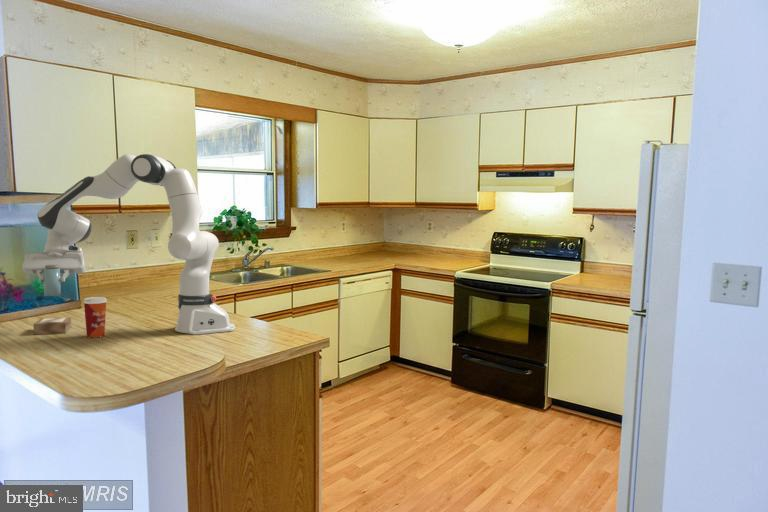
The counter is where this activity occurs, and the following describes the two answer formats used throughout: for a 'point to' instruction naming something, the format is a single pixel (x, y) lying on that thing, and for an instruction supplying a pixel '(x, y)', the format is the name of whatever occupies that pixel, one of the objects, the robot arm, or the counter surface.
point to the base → (52, 326)
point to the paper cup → (95, 316)
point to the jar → (52, 280)
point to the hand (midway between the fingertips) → (51, 280)
